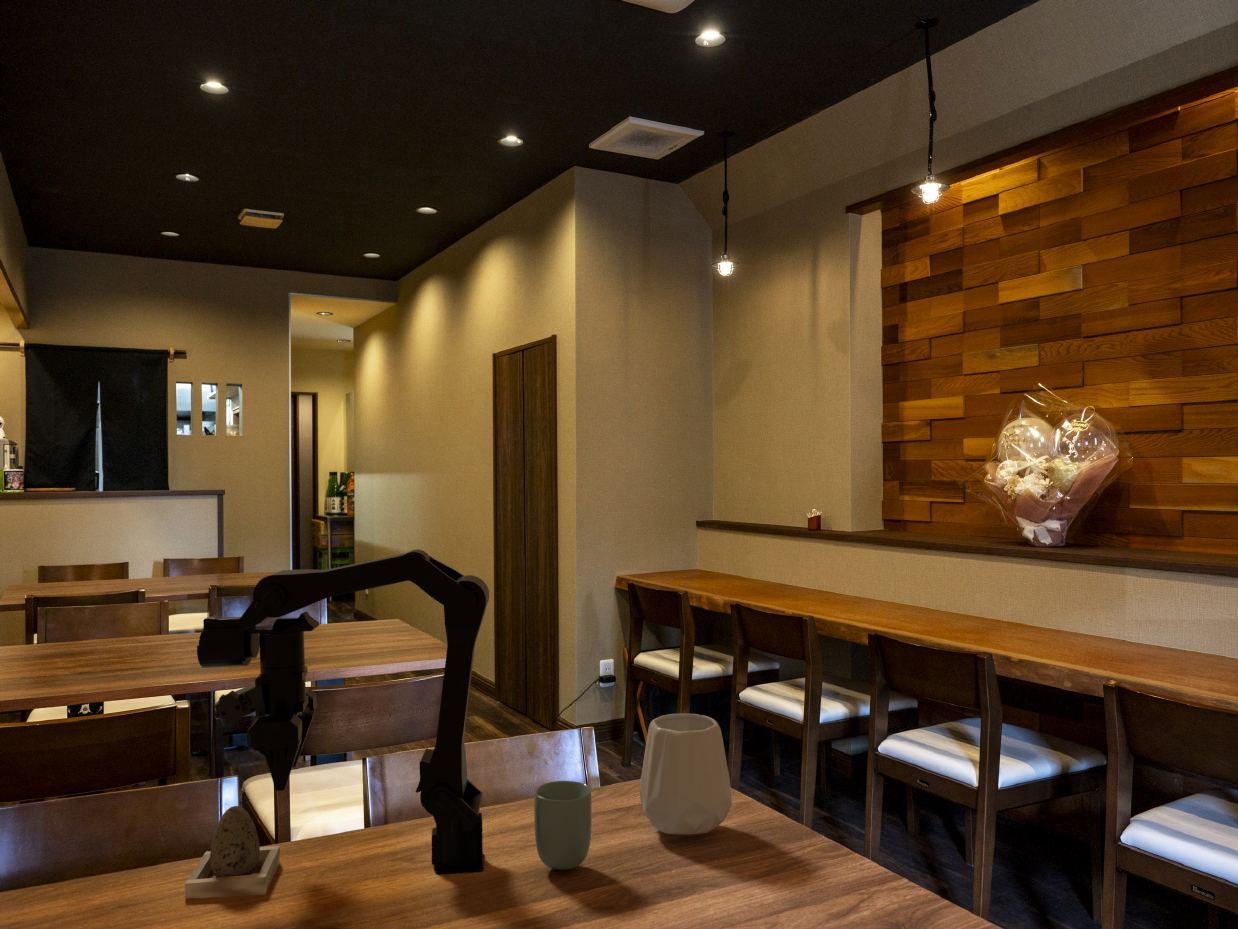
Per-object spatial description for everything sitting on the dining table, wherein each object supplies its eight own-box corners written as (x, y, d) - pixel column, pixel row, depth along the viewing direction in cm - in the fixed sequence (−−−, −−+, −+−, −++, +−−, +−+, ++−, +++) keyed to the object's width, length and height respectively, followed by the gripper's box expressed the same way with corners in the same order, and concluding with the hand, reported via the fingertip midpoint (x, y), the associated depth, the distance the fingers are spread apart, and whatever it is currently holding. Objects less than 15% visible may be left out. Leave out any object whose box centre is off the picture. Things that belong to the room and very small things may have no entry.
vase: (671, 797, 147) (670, 704, 147) (748, 816, 139) (747, 718, 139) (620, 825, 136) (620, 725, 136) (701, 848, 127) (701, 741, 127)
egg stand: (279, 864, 123) (279, 845, 123) (265, 896, 114) (265, 877, 114) (206, 870, 121) (206, 851, 121) (185, 903, 112) (185, 883, 112)
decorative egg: (268, 881, 118) (268, 805, 118) (225, 898, 113) (224, 819, 113) (244, 868, 122) (244, 795, 122) (201, 885, 117) (201, 808, 117)
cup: (584, 878, 118) (583, 802, 118) (527, 874, 120) (527, 799, 120) (597, 853, 126) (597, 782, 126) (544, 849, 127) (543, 778, 127)
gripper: (234, 654, 130) (238, 762, 130) (201, 685, 112) (205, 810, 112) (315, 649, 132) (318, 755, 132) (295, 678, 114) (299, 801, 114)
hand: (286, 778), depth 122 cm, fingers open, 9 cm apart
